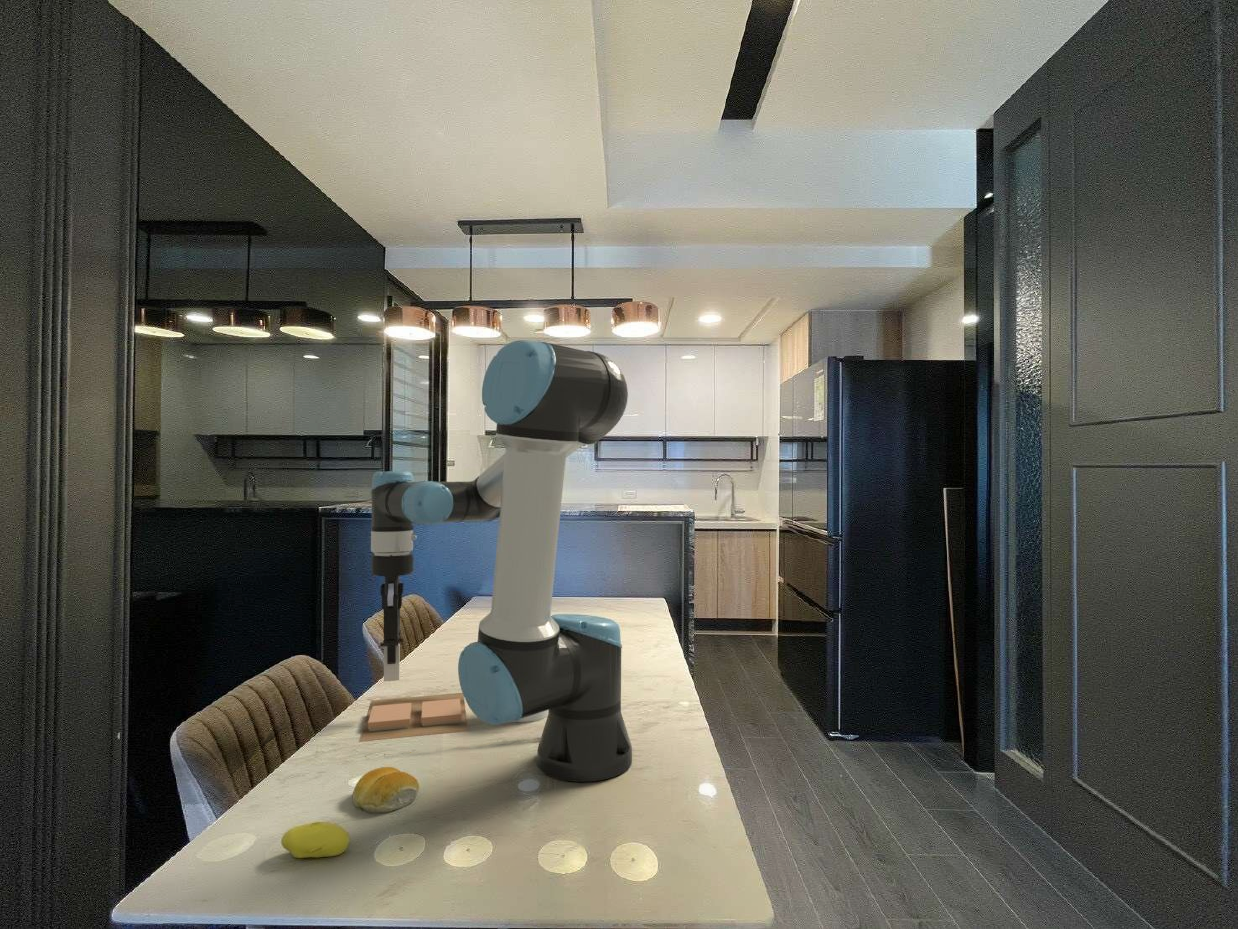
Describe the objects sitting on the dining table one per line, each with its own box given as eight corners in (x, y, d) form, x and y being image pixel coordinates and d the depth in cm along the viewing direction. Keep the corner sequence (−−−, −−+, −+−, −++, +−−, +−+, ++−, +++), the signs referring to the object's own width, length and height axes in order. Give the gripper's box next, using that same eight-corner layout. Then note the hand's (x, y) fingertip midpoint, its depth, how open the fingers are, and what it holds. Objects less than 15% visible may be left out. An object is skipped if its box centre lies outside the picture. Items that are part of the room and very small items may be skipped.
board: (468, 736, 117) (468, 730, 117) (359, 747, 112) (359, 741, 112) (463, 697, 138) (463, 692, 138) (371, 705, 134) (371, 700, 134)
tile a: (459, 706, 130) (461, 722, 121) (422, 710, 128) (421, 726, 119) (459, 698, 130) (461, 714, 121) (422, 701, 128) (421, 717, 119)
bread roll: (392, 781, 100) (392, 754, 100) (427, 798, 95) (428, 770, 95) (340, 801, 94) (340, 772, 94) (374, 821, 88) (375, 791, 88)
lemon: (339, 866, 78) (339, 832, 78) (273, 864, 78) (273, 830, 78) (355, 846, 82) (355, 814, 82) (292, 845, 82) (293, 813, 83)
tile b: (411, 711, 127) (409, 727, 119) (372, 714, 125) (367, 732, 117) (411, 702, 127) (409, 718, 119) (372, 706, 125) (368, 722, 117)
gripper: (412, 556, 120) (411, 688, 119) (414, 549, 132) (413, 668, 132) (367, 557, 118) (366, 692, 117) (374, 550, 130) (373, 671, 130)
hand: (391, 679), depth 124 cm, fingers closed
